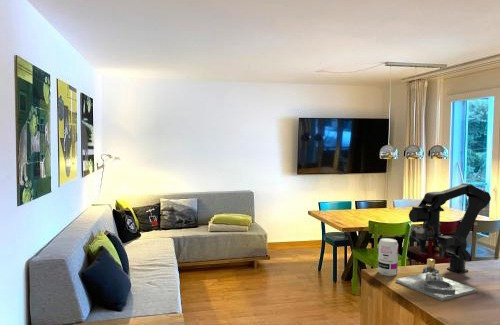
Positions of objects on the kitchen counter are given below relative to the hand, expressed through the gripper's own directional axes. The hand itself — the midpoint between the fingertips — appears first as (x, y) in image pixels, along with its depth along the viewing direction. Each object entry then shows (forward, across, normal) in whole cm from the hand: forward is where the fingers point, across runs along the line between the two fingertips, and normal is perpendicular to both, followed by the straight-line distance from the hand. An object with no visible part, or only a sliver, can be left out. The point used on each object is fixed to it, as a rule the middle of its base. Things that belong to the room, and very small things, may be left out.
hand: (431, 255), depth 178 cm
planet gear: (+8, 0, 0) cm, 8 cm away
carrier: (+8, +12, -13) cm, 20 cm away
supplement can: (+8, -8, -18) cm, 21 cm away
